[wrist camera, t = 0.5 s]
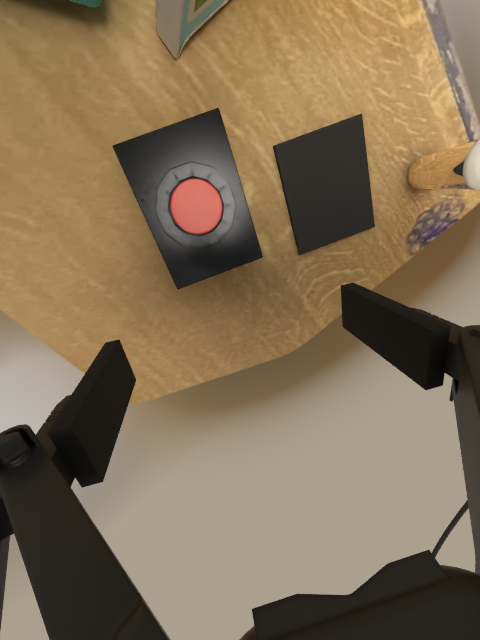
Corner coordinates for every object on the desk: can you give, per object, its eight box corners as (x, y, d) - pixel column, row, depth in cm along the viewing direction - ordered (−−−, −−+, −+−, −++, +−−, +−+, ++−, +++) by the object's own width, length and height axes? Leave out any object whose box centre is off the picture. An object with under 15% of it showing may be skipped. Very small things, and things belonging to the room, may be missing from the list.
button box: (256, 253, 33) (267, 260, 28) (178, 282, 32) (176, 294, 28) (215, 118, 27) (220, 99, 22) (120, 152, 27) (106, 140, 22)
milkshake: (441, 189, 34) (535, 181, 24) (401, 197, 33) (481, 192, 24) (445, 147, 32) (548, 121, 23) (403, 155, 31) (491, 132, 22)
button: (226, 223, 26) (229, 224, 24) (183, 238, 26) (183, 241, 24) (209, 174, 25) (211, 170, 22) (164, 191, 25) (161, 189, 22)
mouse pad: (372, 226, 34) (374, 226, 33) (298, 254, 34) (300, 255, 33) (359, 114, 29) (362, 113, 29) (273, 146, 29) (274, 145, 28)
